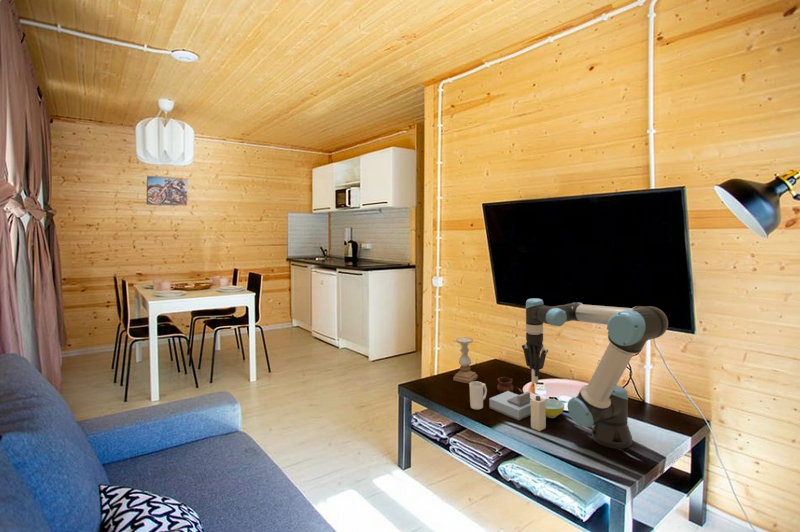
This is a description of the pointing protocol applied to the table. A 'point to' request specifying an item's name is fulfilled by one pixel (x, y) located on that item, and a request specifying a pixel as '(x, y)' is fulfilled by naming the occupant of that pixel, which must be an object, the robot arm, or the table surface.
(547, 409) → the bowl
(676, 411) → the table surface
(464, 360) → the candle holder
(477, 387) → the mug
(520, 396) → the grey wedge block
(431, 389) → the table surface
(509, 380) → the ceramic pot
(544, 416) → the beige square bottle
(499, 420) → the table surface
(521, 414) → the socket
